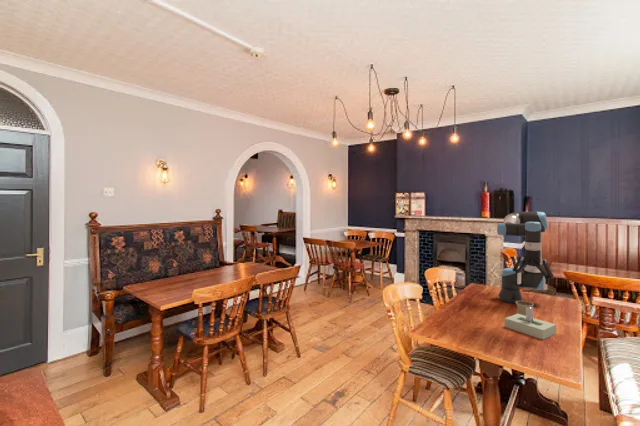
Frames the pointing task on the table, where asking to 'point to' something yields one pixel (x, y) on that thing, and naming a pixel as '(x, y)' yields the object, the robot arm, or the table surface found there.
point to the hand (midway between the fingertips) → (531, 286)
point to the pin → (529, 314)
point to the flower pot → (523, 306)
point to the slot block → (530, 326)
